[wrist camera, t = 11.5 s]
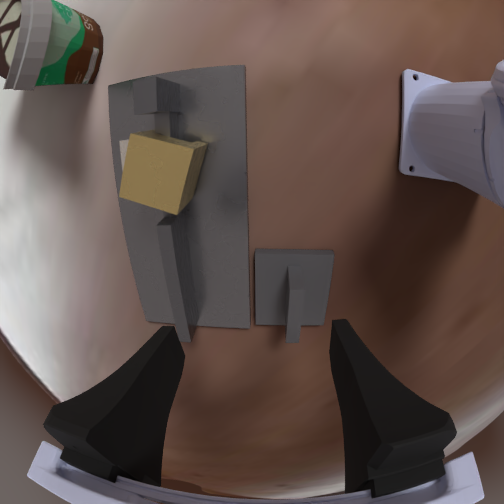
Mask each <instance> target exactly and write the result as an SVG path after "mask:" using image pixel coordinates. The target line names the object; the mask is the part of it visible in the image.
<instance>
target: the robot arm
mask: <svg viewBox="0 0 504 504" xmlns="http://www.w3.org/2000/svg"><path fill="white" fill-rule="evenodd" d="M413 75H415V76H416V80H414V79H413ZM410 166H413V169H412V171H409V167H410ZM399 170H400V172H401V173H403V174H405V175H412V176H420V177H427V178H433V179H440V180H446V181H451V182H456V183H458V184H460V185H462V186H464V187H466V188H468V189H470V190H472V191H474V192H476V193H478V194H480V195H481V196H483V197H485V198H487V199H489V200H490V201H492V202H494V203H496V204H497V205H499V206H501V207H502V208H504V60H502V61H501V62H499V63H498V64H497V65H496V68H495V71H494V74H493V75H492V77H491V81H477V82H458V83H452V82H449V81H446V80H443V79H440V78H437V77H434V76H430V75H427V74H424V73H420V72H417V71H413V70H409V69H407V70H404V71H403V72H402V129H401V146H400V158H399ZM329 353H330V362H331V370H332V375H333V379H334V384H335V388H336V392H337V397H338V401H339V406H340V410H341V416H342V424H343V435H344V451H345V494H342V495H334V496H326V497H316V498H304V499H282V500H259V499H237V498H224V497H214V496H206V495H199V494H192V493H186V492H181V491H176V490H171V489H166V488H161V487H160V486H161V469H162V456H163V446H164V439H165V433H166V427H167V422H168V417H169V413H170V410H171V406H172V403H173V400H174V397H175V394H176V391H177V388H178V385H179V382H180V379H181V376H182V371H183V366H184V360H185V354H184V351H183V349H182V346H181V343H180V341H179V338H178V336H177V333H176V330H175V327H174V326H162V327H161V328H160V329H159V330H158V331H157V332H156V333H155V334H154V335H153V336H152V337H151V338H150V339H149V340H148V341H147V342H146V343H145V344H144V345H143V346H142V347H141V348H140V349H139V350H138V351H137V352H136V353H135V354H134V355H133V356H132V357H131V358H130V359H129V360H128V361H127V362H126V363H124V364H123V365H122V366H121V367H120V368H119V369H118V370H116V371H115V372H114V373H113V374H111V375H110V376H109V377H107V378H106V379H105V380H103V381H102V382H100V383H99V384H97V385H95V386H94V387H92V388H91V389H89V390H87V391H85V392H84V393H82V394H80V395H78V396H76V397H74V398H72V399H69V400H67V401H64V402H62V403H59V404H57V405H54V406H53V407H52V409H51V410H50V412H49V414H48V416H47V418H46V420H45V422H44V424H43V425H44V428H45V429H46V430H47V432H48V433H49V434H50V435H52V436H53V437H54V438H55V439H56V440H57V441H58V442H60V443H61V444H62V445H63V446H64V449H63V451H62V450H61V449H59V448H57V447H55V446H53V445H51V444H49V443H47V442H45V441H42V443H41V445H40V447H39V449H38V452H37V454H36V456H35V458H34V460H33V463H32V465H31V467H30V469H29V472H28V474H27V476H28V477H29V478H31V479H32V480H33V481H35V482H37V483H38V484H39V485H41V486H43V487H44V488H46V489H47V490H49V491H51V492H52V493H54V494H56V495H58V496H59V497H61V498H63V499H64V500H66V501H68V502H70V503H72V504H159V503H156V502H152V501H149V500H153V501H157V502H161V503H165V504H474V503H476V502H478V501H479V500H481V499H483V498H484V493H483V488H482V484H481V480H480V477H479V473H478V469H477V466H476V462H475V459H474V456H473V453H472V452H469V453H467V454H465V455H462V456H460V457H458V458H455V459H453V460H451V461H449V462H447V463H445V464H444V465H443V461H442V459H443V458H444V457H445V455H444V451H443V449H444V448H445V447H446V446H447V445H448V444H449V443H450V442H451V441H452V440H453V439H454V438H455V436H456V433H457V431H456V428H455V425H454V423H453V420H452V418H451V417H450V415H449V413H448V412H446V411H444V410H442V409H440V408H438V407H436V406H434V405H432V404H430V403H429V402H427V401H425V400H424V399H422V398H421V397H419V396H418V395H416V394H415V393H414V392H412V391H411V390H410V389H408V388H407V387H406V386H404V385H403V384H402V383H401V382H400V381H398V380H397V379H396V378H395V377H394V376H393V375H392V374H391V373H390V372H389V371H388V370H387V369H386V368H385V367H384V366H383V365H382V364H381V363H380V362H379V361H378V360H377V359H376V358H375V356H374V355H373V354H372V353H371V352H370V351H369V349H368V348H367V347H366V346H365V344H364V343H363V342H362V340H361V339H360V338H359V336H358V335H357V334H356V332H355V331H354V329H353V328H352V326H351V325H350V323H349V322H348V321H347V320H346V319H341V320H332V330H331V341H330V350H329ZM144 498H146V499H149V500H146V499H144Z"/></svg>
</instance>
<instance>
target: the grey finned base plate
mask: <svg viewBox="0 0 504 504" xmlns="http://www.w3.org/2000/svg"><path fill="white" fill-rule="evenodd" d="M333 263H334V252H333V250H299V249H255V300H256V325H285V334H286V343H299V337H300V329H301V325H324V319H325V314H326V308H327V302H328V296H329V290H330V283H331V277H332V270H333Z"/></svg>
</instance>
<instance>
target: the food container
mask: <svg viewBox="0 0 504 504" xmlns="http://www.w3.org/2000/svg"><path fill="white" fill-rule="evenodd" d="M102 55H103V35H102V32H101V29H100V26H99V25H98V24H97V23H96V22H95V21H94V20H93V19H91V18H90V17H88V16H86V15H84V14H82V13H80V12H78V11H76V10H74V9H72V8H70V7H67V6H65V5H63V4H61V3H59V2H57V1H54V0H0V76H2V77H3V78H5V79H6V82H5V85H4V88H3V89H13V90H34V87H35V86H41V85H57V84H93V81H94V79H95V77H96V75H97V73H98V70H99V67H100V63H101V59H102Z"/></svg>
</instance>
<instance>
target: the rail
mask: <svg viewBox="0 0 504 504" xmlns="http://www.w3.org/2000/svg"><path fill="white" fill-rule="evenodd" d="M108 94H109V118H110V132H111V144H112V154H113V164H114V172H115V179H116V187H117V193H118V200H119V206H120V212H121V217H122V223H123V228H124V233H125V238H126V243H127V248H128V252H129V257H130V261H131V265H132V270H133V274H134V278H135V282H136V286H137V289H138V293H139V297H140V300H141V304H142V307H143V311H144V314H145V318H146V321H152V322H162V323H172V324H175V325H176V329H177V333H178V337H179V341H181V342H191V341H192V338H193V335H194V332H195V329H196V326H211V327H228V328H250V325H251V310H250V266H249V221H248V173H247V121H246V67H245V65H231V66H217V67H206V68H197V69H189V70H181V71H175V72H168V73H163V74H157V75H152V76H147V77H142V78H137V79H133V80H129V81H124V82H120V83H116V84H113V85H109V86H108ZM148 130H155V133H156V134H160V135H164V136H168V137H172V138H176V139H180V140H183V141H187V142H191V143H193V142H196V141H201V142H204V143H208V145H207V148H206V152H205V155H204V159H203V162H202V166H201V169H200V173H199V176H198V180H197V184H196V187H195V191H194V195H193V198H192V199H191V201H190V202H189V203H188V204H187V205H186V206H185V207H184V208H183V209H182V210H181V211H180V213H179V214H178V215H175V214H172V213H169V212H166V211H162V210H159V209H156V208H153V207H150V206H147V205H143V204H140V203H137V202H134V201H131V200H128V199H124V198H121V197H119V193H120V186H121V180H122V174H123V168H124V162H125V157H126V152H127V147H128V142H129V137H130V133H136V132H142V131H148Z"/></svg>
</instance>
